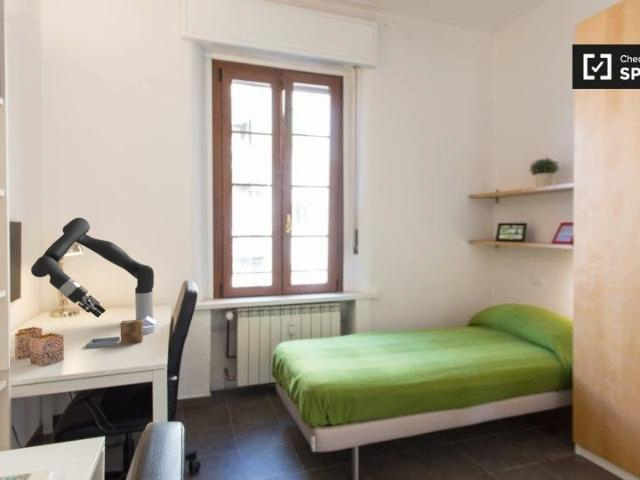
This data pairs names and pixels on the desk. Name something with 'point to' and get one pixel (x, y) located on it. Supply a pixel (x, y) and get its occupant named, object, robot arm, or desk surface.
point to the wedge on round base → (148, 325)
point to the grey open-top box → (103, 342)
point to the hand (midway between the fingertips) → (102, 313)
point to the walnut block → (131, 331)
